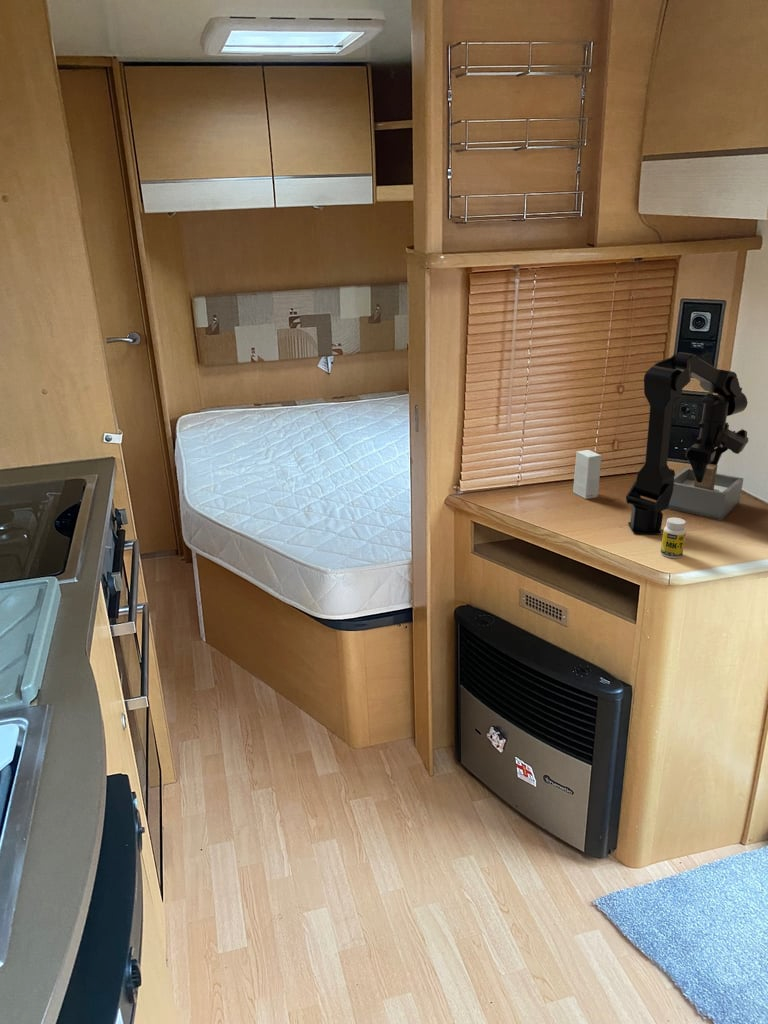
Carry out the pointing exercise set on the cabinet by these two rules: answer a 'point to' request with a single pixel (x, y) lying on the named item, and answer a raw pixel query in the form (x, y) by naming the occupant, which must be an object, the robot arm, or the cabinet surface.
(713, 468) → the walnut peg
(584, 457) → the skincare box
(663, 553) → the supplement bottle
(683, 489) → the peg socket
